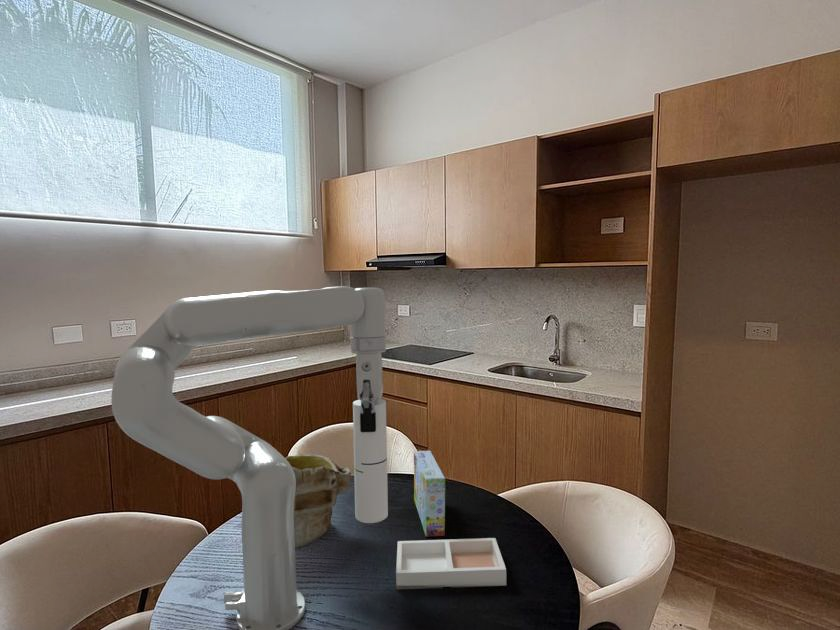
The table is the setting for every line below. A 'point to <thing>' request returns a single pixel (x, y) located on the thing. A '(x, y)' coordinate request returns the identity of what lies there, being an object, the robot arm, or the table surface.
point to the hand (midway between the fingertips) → (369, 425)
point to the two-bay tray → (449, 563)
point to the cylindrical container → (370, 466)
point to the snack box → (429, 493)
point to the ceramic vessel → (315, 494)
